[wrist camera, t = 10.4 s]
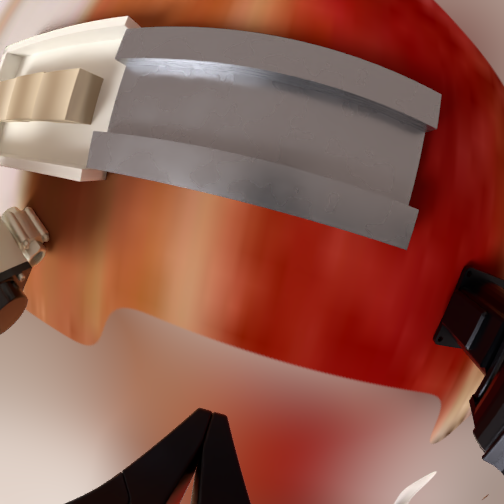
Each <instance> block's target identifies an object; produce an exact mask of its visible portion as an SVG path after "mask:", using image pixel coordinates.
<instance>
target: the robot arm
mask: <svg viewBox="0 0 504 504" xmlns="http://www.w3.org/2000/svg"><path fill="white" fill-rule="evenodd" d="M468 271H469V274H468V275H467V273H468ZM440 336H441V337H440ZM439 337H440V338H439ZM438 338H439V339H438ZM433 340H434V342H435V343H436V344H437V345H443V346H449V347H455V348H461V349H463V350H464V352H465V353H466V354H467V355H468V356H469V357H470V359H471V360H472V361H473V362H474V363H475V365H476V366H477V367H478V368H479V369H480V371H481V372H482V373H483V374H484V376H485V377H484V379H483V380H482V382H481V384H480V386H479V387H478V389H477V391H476V392H475V394H473V395H472V397H471V399H470V400H469V403H470V407H471V411H472V416H473V420H474V425H475V428H474V430H473V434H474V437H475V439H476V441H477V443H478V444H479V446H480V448H481V449H482V450H483V451H484V453H485V454H484V455H483V456H482V459H483V460H484V461H486V462H488V463H490V464H492V465H494V466H495V467H496V468H497V469H498V470H500V471H501V472H502V473H503V475H504V280H502V279H500V278H497V277H495V276H493V275H490V274H488V273H485V272H483V271H480V270H478V269H475V268H473V267H470V266H466V267H465V268H464V269H463V271H462V273H461V276H460V278H459V281H458V284H457V286H456V289H455V291H454V293H453V296H452V298H451V301H450V303H449V305H448V307H447V310H446V312H445V314H444V316H443V318H442V320H441V322H440V325H439V327H438V329H437V331H436V333H435V335H434V337H433ZM196 467H197V468H196ZM195 470H196V472H195ZM122 472H123V473H122ZM122 472H120V473H119V474H117V475H116V476H114V477H113V478H112V479H111V480H109V481H107V482H106V483H104V484H103V485H101V486H100V487H98V488H96V489H94V490H93V491H91V492H89V493H87V494H85V495H83V496H81V497H79V498H76V499H74V500H72V501H70V502H67V503H65V504H180V502H181V500H182V498H183V496H184V494H185V492H186V490H187V488H188V486H189V484H190V482H191V480H192V477H193V475H194V473H195V477H194V484H193V491H192V498H191V504H251V503H250V500H249V496H248V493H247V490H246V486H245V483H244V479H243V476H242V472H241V469H240V465H239V461H238V458H237V454H236V450H235V447H234V443H233V439H232V434H231V430H230V427H229V423H228V418H227V416H226V415H224V414H220V413H216V412H214V413H212V412H211V411H209V410H206V409H202V408H198V409H197V410H196V411H194V412H193V413H192V414H191V415H190V416H189V417H188V418H187V419H185V420H184V421H183V422H182V423H181V424H180V425H178V426H177V427H176V428H175V429H174V430H173V431H172V432H170V433H169V434H168V435H167V436H166V437H164V438H163V439H162V440H161V441H160V442H158V443H157V444H156V445H155V446H153V447H152V448H151V449H150V450H148V451H147V452H146V453H145V454H143V455H142V456H141V457H140V458H138V459H137V460H136V461H134V462H133V463H132V464H131V465H130V466H128V467H127V468H126V469H124V470H123V471H122Z"/></svg>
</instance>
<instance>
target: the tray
mask: <svg viewBox="0 0 504 504" xmlns="http://www.w3.org/2000/svg"><path fill="white" fill-rule="evenodd" d="M130 28H141V27H140V26H139V25H138V24H137V23H136V22H135V21H134V20H133V19H131V18H130V17H129V16H124V17H116V18H109V19H103V20H97V21H92V22H87V23H82V24H77V25H73V26H69V27H65V28H61V29H57V30H53V31H50V32H47V33H43V34H40V35H37V36H34V37H31V38H28V39H25V40H22V41H19V42H17V43H14V44H12V45H9V46H7V47H6V48H5V51H4V53H3V56H2V58H1V61H0V82H1V81H5V80H9V79H13V78H17V77H19V76H24V75H28V74H34V73H39V72H52V71H59V70H67V69H76V68H81V69H83V70H85V71H88V72H90V73H92V74H95V75H97V76H99V77H101V78H103V79H104V80H103V83H102V86H101V89H100V93H99V96H98V100H97V103H96V107H95V110H94V114H93V118H92V122H91V125H88V124H72V123H54V122H47V121H30V122H0V166H4V167H10V168H15V169H20V170H25V171H30V172H36V173H41V174H46V175H51V176H55V177H60V178H65V179H70V180H75V181H79V182H82V181H95V180H106V174H107V171H102V170H96V169H91V168H86V165H87V160H88V154H89V149H90V144H91V140H92V135H93V131H100V132H107V131H108V126H109V122H110V118H111V115H112V111H113V107H114V103H115V100H116V97H117V93H118V90H119V87H120V83H121V80H122V77H123V74H124V71H125V68H126V66H125V65H124V64H122V63H120V62H119V61H117V60H115V57H116V54H117V51H118V49H119V46H120V43H121V41H122V38H123V36H124V34H125V31H126V29H130Z"/></svg>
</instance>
